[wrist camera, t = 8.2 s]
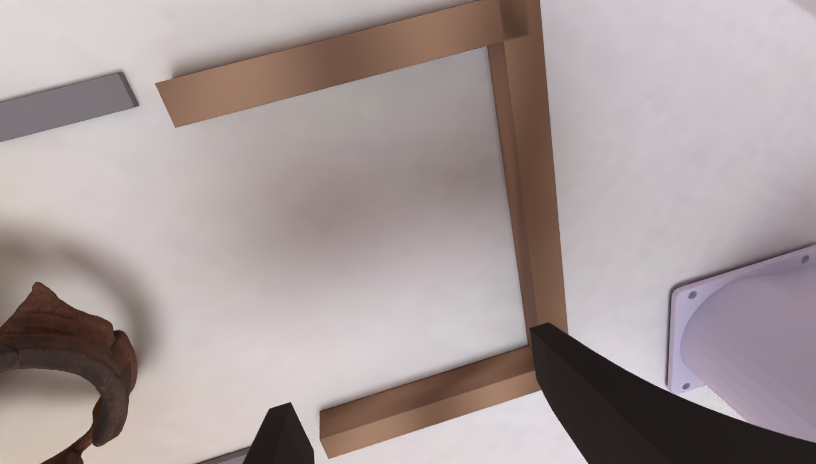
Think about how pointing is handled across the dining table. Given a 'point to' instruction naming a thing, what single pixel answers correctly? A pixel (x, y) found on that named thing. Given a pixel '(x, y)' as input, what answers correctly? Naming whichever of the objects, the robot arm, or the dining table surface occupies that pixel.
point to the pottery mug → (73, 359)
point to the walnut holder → (523, 163)
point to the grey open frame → (72, 108)
